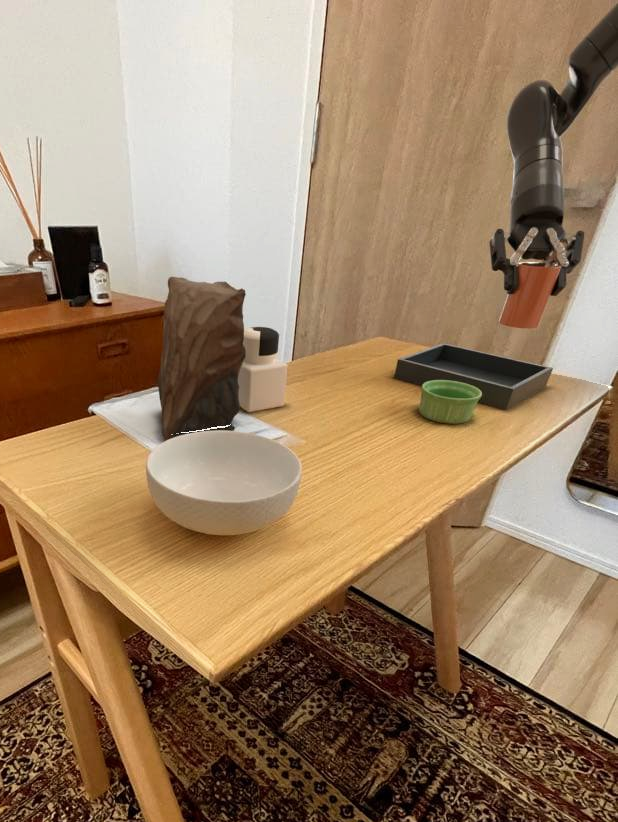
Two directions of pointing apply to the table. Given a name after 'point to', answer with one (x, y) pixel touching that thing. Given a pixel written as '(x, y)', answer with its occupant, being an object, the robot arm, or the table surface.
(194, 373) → the brown carved rock
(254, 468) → the cereal bowl
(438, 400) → the ramekin
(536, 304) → the cup
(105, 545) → the table surface
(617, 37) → the robot arm
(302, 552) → the table surface
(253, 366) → the medicine bottle
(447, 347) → the tray
